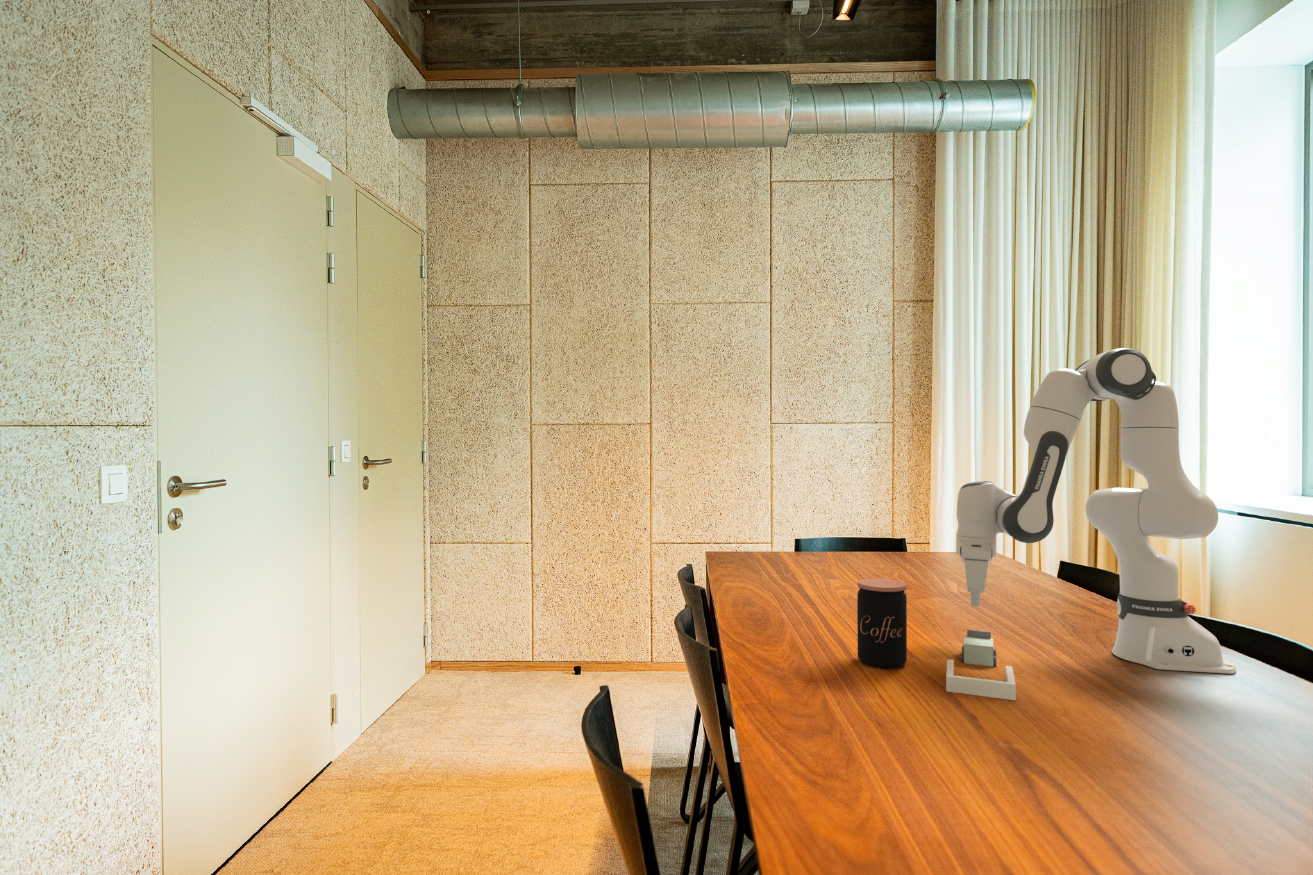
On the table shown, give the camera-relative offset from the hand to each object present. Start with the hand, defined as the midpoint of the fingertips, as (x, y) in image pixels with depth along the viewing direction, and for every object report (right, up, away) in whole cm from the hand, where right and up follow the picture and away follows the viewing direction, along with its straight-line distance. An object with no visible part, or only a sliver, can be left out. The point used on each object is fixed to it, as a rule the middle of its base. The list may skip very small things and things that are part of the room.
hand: (975, 605), depth 170 cm
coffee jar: (-26, -11, -11) cm, 30 cm away
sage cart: (-3, -10, -9) cm, 14 cm away
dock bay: (-11, -10, -26) cm, 30 cm away
